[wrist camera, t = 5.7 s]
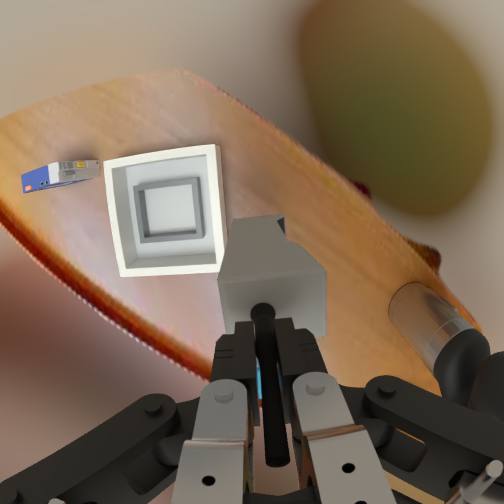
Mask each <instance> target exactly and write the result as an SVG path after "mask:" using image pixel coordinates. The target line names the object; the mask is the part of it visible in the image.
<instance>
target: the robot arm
mask: <svg viewBox="0 0 504 504" xmlns="http://www.w3.org/2000/svg"><path fill="white" fill-rule="evenodd" d="M389 317H390V319H391V321H392V323H393V324H394V325H395V326H396V328H397V329H398V330H399V331H400V333H401V334H402V335H403V337H404V338H405V339H406V340H407V342H408V343H409V344H410V346H411V347H412V348H413V349H414V351H415V352H416V353H417V355H418V356H419V357H420V359H421V360H422V361H423V363H424V364H425V365H426V366H427V368H428V369H429V370H430V372H431V373H432V375H433V376H434V377H435V379H436V380H437V381H438V383H439V387H440V391H441V394H442V397H443V398H442V397H440V396H438V395H435V394H433V393H431V392H429V391H426V390H424V389H422V388H420V387H417V386H415V385H413V384H411V383H408V382H406V381H404V380H402V379H400V378H397V377H394V376H389V375H384V376H378V377H375V378H373V379H371V380H370V381H369V382H368V383H367V384H366V387H365V388H357V387H346V386H343V385H340V384H338V382H337V380H336V379H335V378H334V377H333V376H331V375H329V374H328V372H327V369H326V366H325V364H324V361H323V358H322V355H321V353H320V350H319V347H318V345H317V342H316V339H315V337H314V334H313V333H311V332H310V331H309V330H308V329H306V328H301V329H295V327H294V324H293V320H292V317H289V318H278V319H273V327H274V338H275V344H276V352H277V370H278V377H279V384H280V391H281V398H282V405H283V412H284V419H285V424H288V423H291V428H292V444H293V451H294V457H295V462H296V468H297V474H298V480H299V490H298V491H295V492H292V493H289V494H286V495H282V496H274V495H265V494H259V493H254V453H253V452H254V449H253V448H254V446H253V445H254V444H253V439H254V426H260V411H259V393H258V374H257V358H256V348H255V334H254V322H253V321H238V322H235V330H234V334H224V335H222V336H221V337H220V338H219V339H218V341H217V342H216V346H215V353H214V359H213V365H212V372H211V378H210V383H209V384H208V385H206V386H205V387H204V388H203V390H202V392H201V396H200V397H198V398H196V399H193V400H190V401H186V402H181V403H175V402H174V400H173V399H172V398H171V397H169V396H167V395H164V394H149V395H146V396H143V397H142V398H140V399H138V400H137V401H135V402H134V403H132V404H131V405H129V406H128V407H126V408H125V409H123V410H122V411H120V412H119V413H117V414H116V415H114V416H113V417H111V418H110V419H108V420H107V421H105V422H103V423H102V424H100V425H99V426H97V427H96V428H94V429H93V430H91V431H89V432H88V433H86V434H84V435H83V436H81V437H80V438H78V439H76V440H75V441H73V442H71V443H70V444H68V445H66V446H65V447H63V448H61V449H60V450H58V451H56V452H55V453H53V454H51V455H50V456H48V457H46V458H45V459H43V460H41V461H39V462H37V463H36V464H34V465H32V466H30V467H28V468H26V469H25V470H23V471H21V472H19V473H17V474H15V475H14V476H12V477H10V478H8V479H6V480H4V481H3V482H1V483H0V504H147V503H149V502H150V501H151V500H152V499H154V498H155V497H156V496H157V495H159V494H160V493H161V492H162V491H163V490H165V489H166V488H167V487H168V486H170V485H171V484H172V483H173V482H174V481H175V486H174V491H173V496H172V501H171V504H422V503H420V502H418V501H416V500H414V499H411V498H410V497H408V496H406V495H403V494H402V493H400V492H397V491H395V490H393V489H391V488H390V486H389V483H388V481H387V478H386V476H385V473H384V471H383V469H384V470H386V471H387V472H389V473H391V474H393V475H394V476H396V477H398V478H400V479H401V480H403V481H405V482H407V483H409V484H411V485H413V486H414V487H416V488H418V489H420V490H422V491H424V492H426V493H428V494H430V495H432V496H434V497H436V498H438V499H440V500H442V501H444V504H504V351H502V352H497V353H494V354H492V355H491V354H490V346H489V343H488V341H487V339H486V338H485V337H484V336H483V335H482V334H481V333H480V332H479V331H478V330H477V329H476V328H475V327H473V326H472V325H471V324H470V323H469V322H468V321H466V320H465V319H464V318H463V317H462V316H461V315H459V314H458V310H457V308H456V307H454V306H453V305H452V304H451V303H450V302H448V301H447V300H446V299H445V298H443V297H442V296H441V295H440V294H438V293H437V292H436V291H435V290H433V289H432V288H427V287H426V286H424V285H423V284H421V283H416V282H415V283H410V284H407V285H405V286H403V287H402V288H401V289H400V290H398V292H397V293H396V294H395V295H394V297H393V298H392V300H391V303H390V306H389ZM396 428H397V429H399V430H401V431H403V432H405V433H407V434H409V435H411V436H413V437H415V438H417V439H419V440H421V441H422V442H424V443H425V444H424V443H422V442H420V441H418V440H416V439H414V438H412V437H410V436H408V435H406V434H404V433H403V432H401V431H399V430H397V429H396Z"/></svg>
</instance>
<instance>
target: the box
mask: <svg viewBox="0 0 504 504" xmlns="http://www.w3.org/2000/svg"><path fill="white" fill-rule="evenodd" d="M103 162H104V173H105V183H106V192H107V201H108V208H109V215H110V222H111V229H112V235H113V241H114V246H115V252H116V257H117V262H118V267H119V272H120V277H132V276H153V275H173V274H192V273H209V272H219V271H220V267H221V264H222V260H223V256H224V252H225V248H226V245H227V241H228V235H227V224H226V213H225V201H224V189H223V177H222V164H221V151H220V147H219V146H218V145H216V144H209V145H200V146H192V147H184V148H177V149H170V150H163V151H157V152H151V153H145V154H139V155H133V156H128V157H123V158H118V159H113V160H108V161H103Z"/></svg>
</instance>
